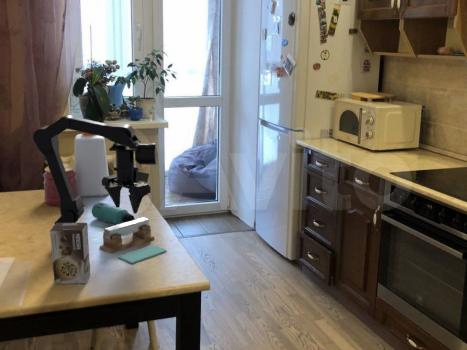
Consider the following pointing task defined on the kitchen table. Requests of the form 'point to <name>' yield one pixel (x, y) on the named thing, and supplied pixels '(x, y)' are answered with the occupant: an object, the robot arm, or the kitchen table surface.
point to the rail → (126, 228)
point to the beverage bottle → (111, 213)
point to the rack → (126, 240)
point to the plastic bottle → (90, 164)
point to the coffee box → (70, 253)
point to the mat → (142, 254)
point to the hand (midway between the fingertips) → (126, 210)
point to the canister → (50, 188)
